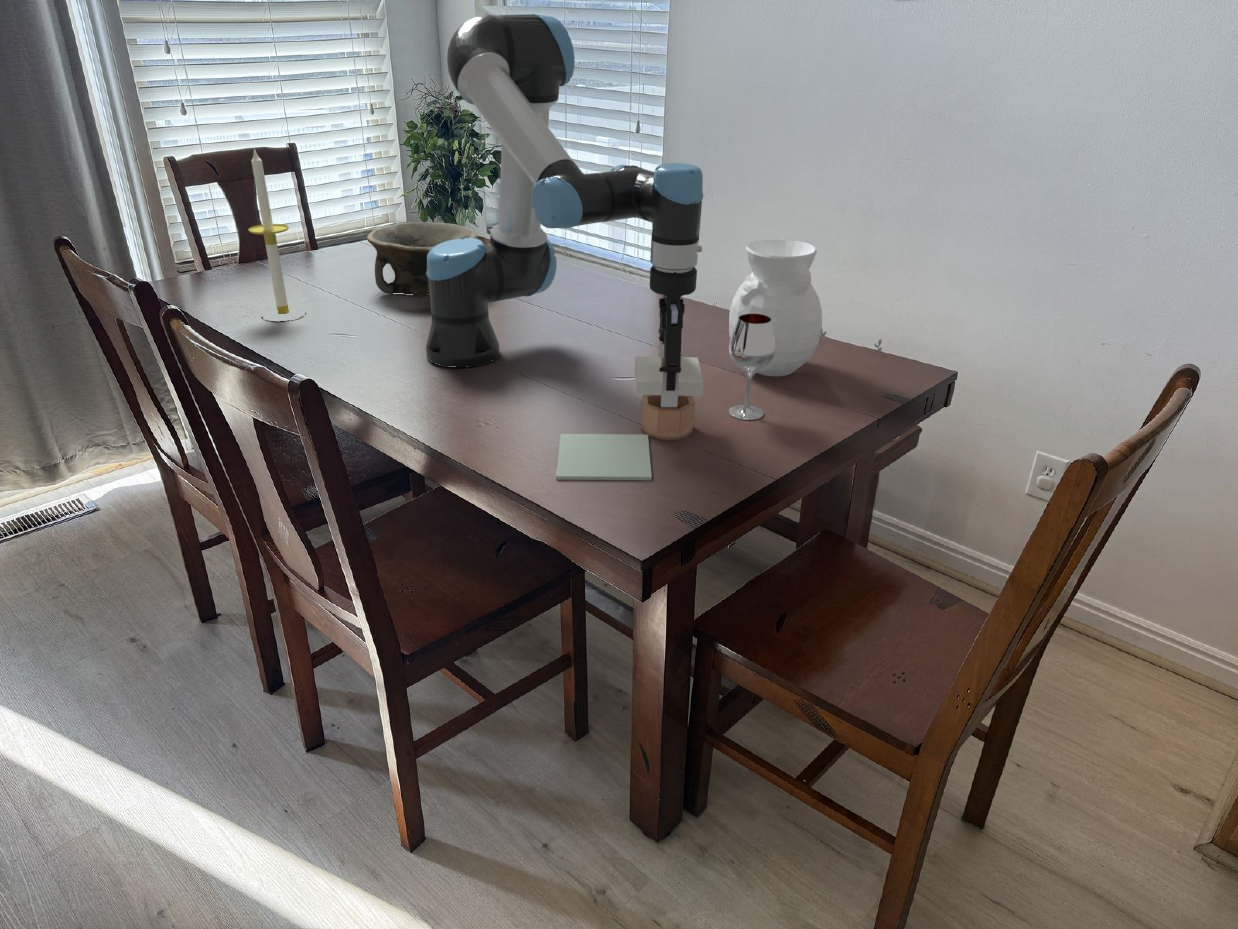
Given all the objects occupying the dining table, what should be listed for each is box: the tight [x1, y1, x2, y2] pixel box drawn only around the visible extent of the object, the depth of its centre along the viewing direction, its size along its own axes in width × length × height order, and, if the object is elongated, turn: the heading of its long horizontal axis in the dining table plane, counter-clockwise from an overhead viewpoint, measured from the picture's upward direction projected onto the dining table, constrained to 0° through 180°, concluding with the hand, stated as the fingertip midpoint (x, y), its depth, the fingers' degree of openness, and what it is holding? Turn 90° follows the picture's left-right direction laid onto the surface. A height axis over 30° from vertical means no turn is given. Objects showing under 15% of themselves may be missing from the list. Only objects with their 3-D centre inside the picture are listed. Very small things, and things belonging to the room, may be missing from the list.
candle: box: [248, 147, 290, 314], centre depth 194 cm, size 10×10×38 cm
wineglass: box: [728, 314, 776, 421], centre depth 154 cm, size 8×8×18 cm
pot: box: [640, 395, 696, 441], centre depth 150 cm, size 9×9×6 cm
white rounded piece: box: [728, 239, 823, 377], centre depth 172 cm, size 19×18×25 cm
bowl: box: [366, 221, 478, 296], centre depth 219 cm, size 27×26×15 cm
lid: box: [634, 355, 704, 397], centre depth 147 cm, size 11×11×4 cm
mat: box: [555, 433, 652, 481], centre depth 142 cm, size 15×15×1 cm
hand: (666, 391), depth 149 cm, fingers closed on lid, 11 cm apart
